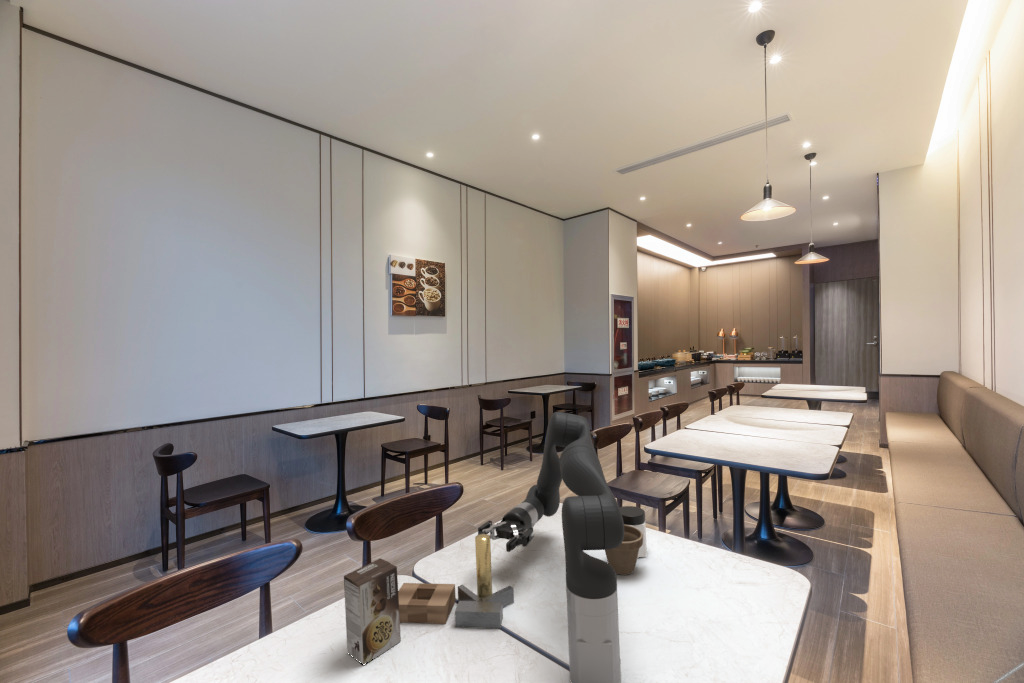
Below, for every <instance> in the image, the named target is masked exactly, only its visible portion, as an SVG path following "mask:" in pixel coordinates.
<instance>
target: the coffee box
mask: <svg viewBox="0 0 1024 683" xmlns="http://www.w3.org/2000/svg"><path fill="white" fill-rule="evenodd" d="M343 585H344V589H343V590H344V607H345V608H344V609H345V629H346V652H348V653H349V654H350V655H352V656H353V657H354V658H355V659H357V660H358V661H360V662H361V663H362V664H365V663H367V662H369V661H370V662H372V661H373V660H375V659H376V658H377V656H378V657H380V656H381V655H382V654H384V653H386V651H388V650H390V649H391V648H393V647H394V646H396V645H397V644H399V643H401V641H402V638H401V626H400V625H401V622H400V616H399V596H398V591H399V582H398V567H397V566H396V565H394V564H393V563H391V562H389V561H387V560H385V559H383V558H378V559H376V560H373V561H372V562H370V563H368V564H365V565H363V566H362V567H360V568H357V569H355V570H353V571H351V572H349V573H347V574H345V575H344V576H343ZM348 653H347V654H348ZM349 654H348V655H349ZM350 655H349V656H350ZM354 658H353V659H354ZM374 658H375V659H374ZM355 659H354V660H355ZM372 659H373V660H372ZM371 660H372V661H371ZM358 661H357V662H358ZM370 662H369V663H370ZM367 664H368V663H367Z"/></svg>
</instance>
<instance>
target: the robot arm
mask: <svg viewBox="0 0 1024 683" xmlns="http://www.w3.org/2000/svg"><path fill="white" fill-rule="evenodd" d="M548 420H549V421H548V425H547V429H546V433H545V434H546V435H545V441H544V446H543V453H542V462H541V467H540V470H539V474H538V478H537V481H536V484H534V485H532V486H531V487H530V488H529V489H528V492H527V494H526V497H525V499H524V500H523V501H522V502H521V503H519V504H516V506H514V507H513V508H512V509H510V510H509V511H507V513H505V514H504V515H503V517H502V519H501V521H500V522H498V523H496V524H495V523H493V520H488V521H486V522H485V523H483V524H482V525H480V526H479V527H477V535H480V534H488V535H490V540H492V541H496V540H499V539H504V540H507V542H506V543H505V552H508V553H510V552H511V551H514V550H515V549H516V547H520V546H522V547H525V548H526V547H528V546H529V544H530V543H531V542H532V540H533V539H534V535H535V534H534V527H535V526H536V524H537V523H538V522H539V521H540V520H541V519H542V518H543V516H545V517H553V516H554V515H556V513H558V510H559V507H560V503H561V502H560V501H561V495H560V487H561V483H562V481H563V484H564V485H565V487H567V488H568V490H570V491H571V492H572V493H573V494H575V495H573V496H568V497H565V498H564V500H563V501H562V504H561V528H562V534H563V535H562V536H563V544H564V545H563V546H564V548H563V549H564V557H565V558H564V561H565V562H564V563H565V587H566V588H565V592H566V595H565V596H566V616H567V618H566V619H567V638H568V639H567V640H568V642H567V643H568V662H569V664H568V665H569V680H571V681H570V683H571V682H572V683H622V672H621V669H622V667H621V651H620V650H621V649H620V648H621V647H620V629H619V628H620V627H619V603H618V602H619V601H618V578H617V574H616V572H615V570H614V568H613V567H612V566H611V565H610V564H608V561H605V560H602V559H600V558H597V557H594V556H592V555H589V554H588V553H587V552H585V551H602V550H603V551H605V550H609V549H614V548H617V547H619V546H620V545H621V543H622V542H623V539H624V522H623V518H622V514H621V511H620V506H619V505H620V504H619V503H618V501H617V499H616V497H615V495H614V494H613V492H612V490H611V488H610V486H609V484H608V483H607V480H606V477H605V474H604V471H603V468H602V464H601V461H600V459H599V456H598V454H597V451H596V449H595V446H594V443H593V439H592V435H591V434H592V433H591V429H590V425H589V421H588V420H587V418H586V417H585V416H582V415H578V414H572V413H568V412H563V411H555V412H553V413H552V414H551V416H550V417H549V419H548ZM556 447H562V448H564V449H563V450H562V451H561V454H560V455H559V454H558V451H557V450H556V449H557V448H556ZM495 534H496V535H495Z"/></svg>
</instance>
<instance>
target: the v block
mask: <svg viewBox="0 0 1024 683" xmlns="http://www.w3.org/2000/svg"><path fill="white" fill-rule="evenodd" d="M514 592H515V591H514V587H513V586H511V585H508V586H506V587H504V588H502V589H499V590H497V591H495V592H492V594H491V595H489V596H486V597H484V598H482V599H481V598H480V597H478V596H477V594H476V593H475V592H473V591H472V590H470V589H469V588H468V587H466V586H465V585H464V584H460V585H458V586H457V601H458V603H457V605H456V607H455V610H454V618H455V620H454V621H455V623H454V624H455V628H469V629H470V628H471V629H472V628H473V629H474V628H475V629H497V630H498V629H501V628H502V623H503V619H504V611H503V609H504V608H506V607H508V606H510V605H512V604H514V603H515V597H514V596H515V595H514V594H515V593H514Z"/></svg>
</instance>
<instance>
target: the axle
mask: <svg viewBox="0 0 1024 683" xmlns="http://www.w3.org/2000/svg"><path fill="white" fill-rule="evenodd" d="M474 541H475V543H474V544H475V570H476V593H477V594H476V595H477V596H478V597H480V598H481V599H482V598H484V597H486V596H489V595H491V594H493V578H492V577H493V576H492V574H493V573H492V550H491V539H490V534H489V533H488V534H480V535H478V534H477V535H476V536H475V537H474Z"/></svg>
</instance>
